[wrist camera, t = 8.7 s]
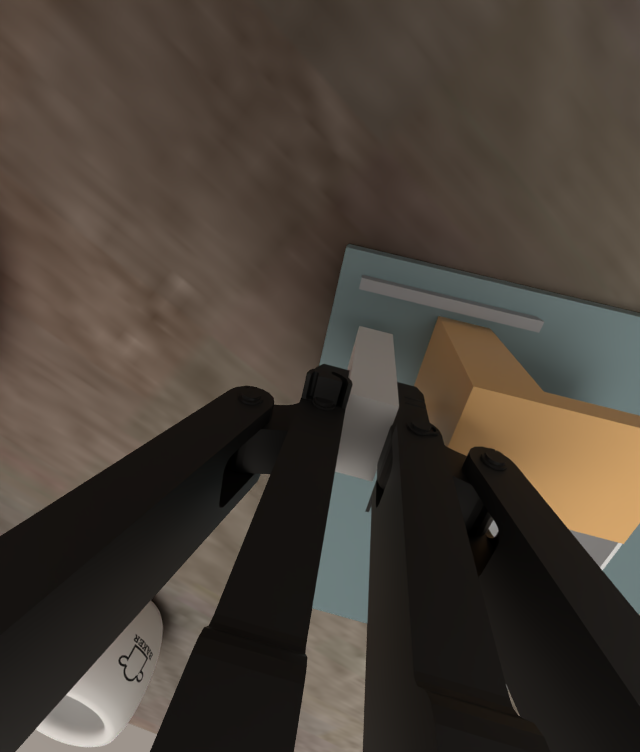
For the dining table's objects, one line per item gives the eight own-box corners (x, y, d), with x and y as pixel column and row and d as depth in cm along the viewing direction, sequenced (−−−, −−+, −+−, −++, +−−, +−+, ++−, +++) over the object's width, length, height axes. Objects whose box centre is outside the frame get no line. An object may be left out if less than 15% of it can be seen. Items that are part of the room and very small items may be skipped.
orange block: (438, 315, 18) (473, 386, 11) (577, 349, 18) (700, 443, 11) (412, 391, 20) (428, 492, 13) (538, 422, 19) (623, 544, 13)
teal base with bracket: (348, 243, 19) (323, 276, 11) (819, 355, 18) (1188, 485, 10) (272, 576, 29) (229, 723, 21) (568, 659, 28) (645, 847, 20)
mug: (194, 637, 34) (143, 755, 26) (113, 643, 36) (47, 753, 29) (127, 533, 29) (46, 639, 22) (41, 546, 31) (-59, 646, 24)
